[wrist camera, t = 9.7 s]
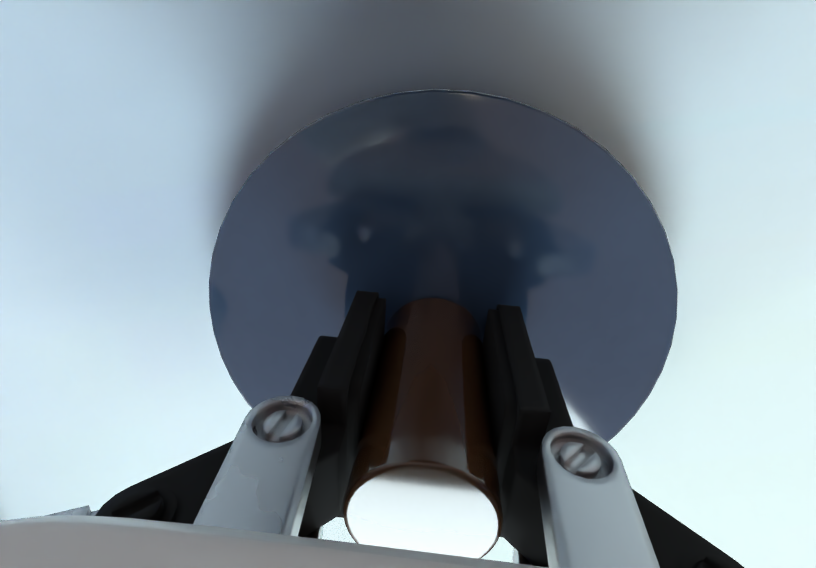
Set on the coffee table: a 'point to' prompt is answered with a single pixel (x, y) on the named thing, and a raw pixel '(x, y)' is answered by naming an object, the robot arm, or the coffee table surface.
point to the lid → (444, 290)
